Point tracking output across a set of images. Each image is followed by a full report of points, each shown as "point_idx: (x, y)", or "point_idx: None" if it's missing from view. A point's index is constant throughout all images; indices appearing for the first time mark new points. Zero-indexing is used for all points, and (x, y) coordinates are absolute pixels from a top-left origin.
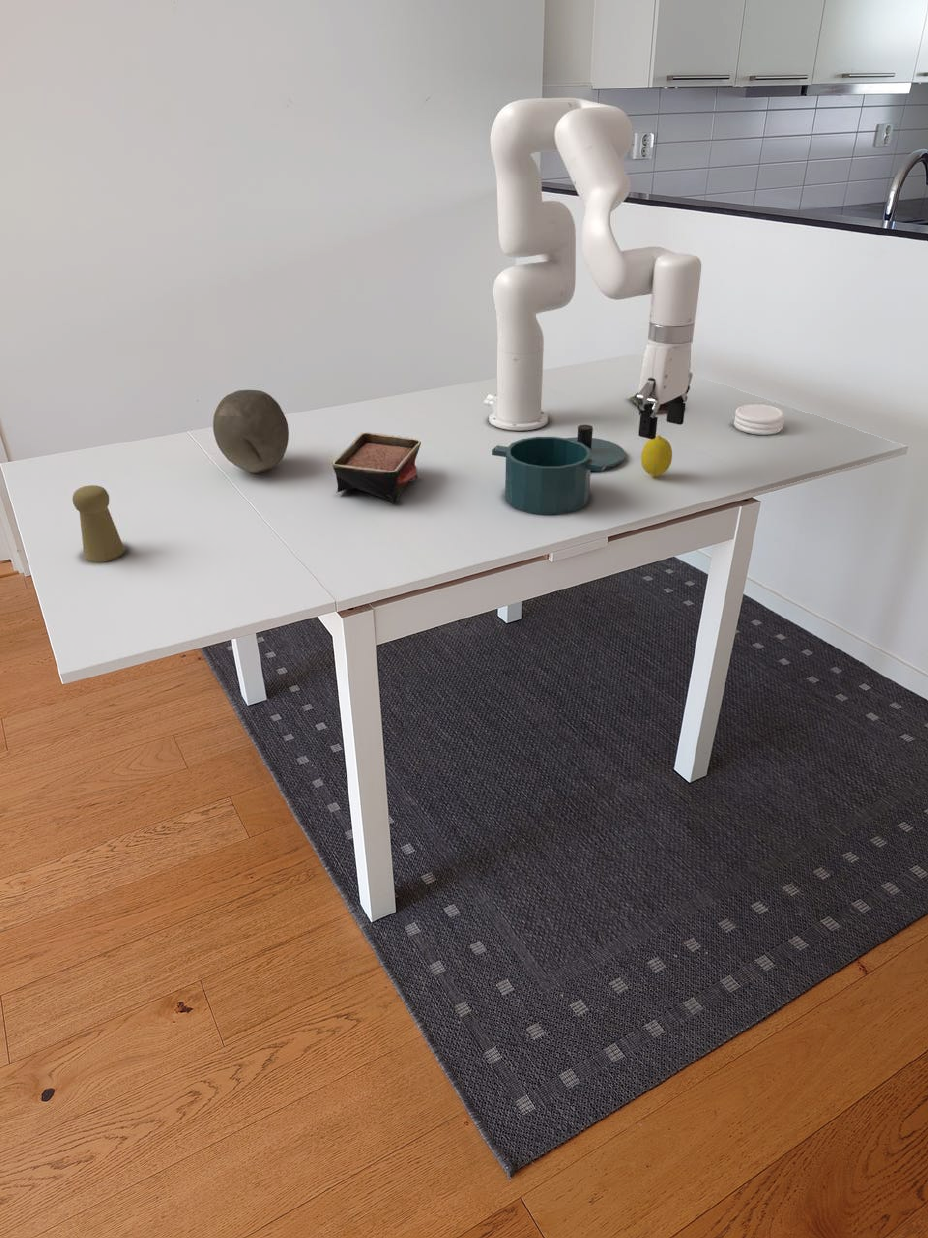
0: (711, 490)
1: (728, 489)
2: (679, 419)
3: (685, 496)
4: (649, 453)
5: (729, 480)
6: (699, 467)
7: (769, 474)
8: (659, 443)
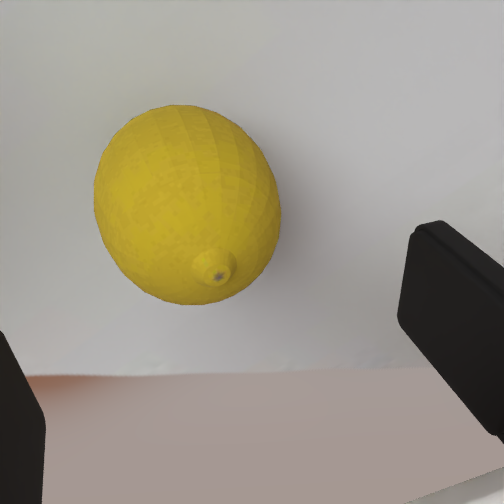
0: (226, 343)
1: (270, 358)
2: (418, 332)
3: (113, 338)
4: (104, 239)
5: (335, 319)
6: (382, 198)
7: None
8: (170, 294)
